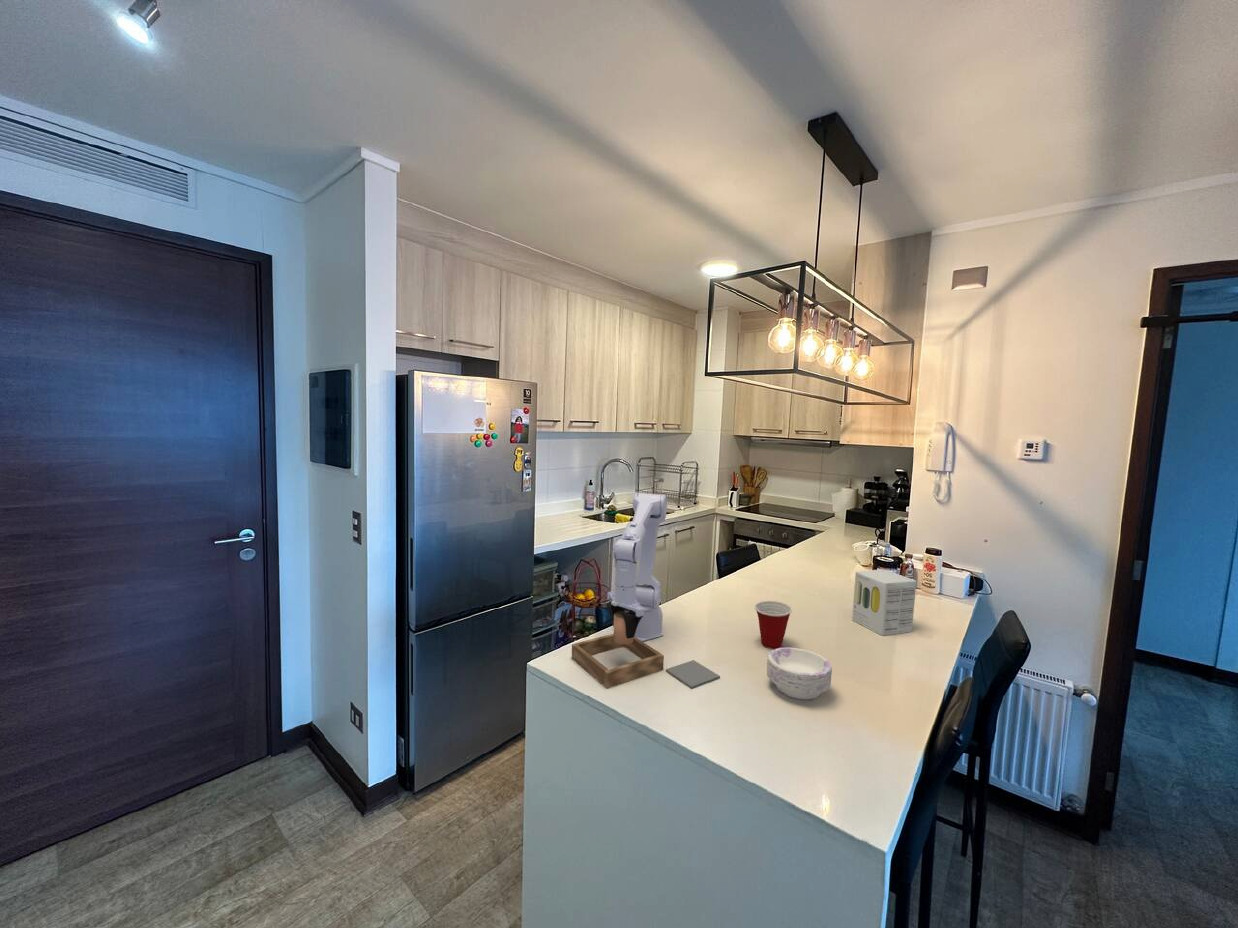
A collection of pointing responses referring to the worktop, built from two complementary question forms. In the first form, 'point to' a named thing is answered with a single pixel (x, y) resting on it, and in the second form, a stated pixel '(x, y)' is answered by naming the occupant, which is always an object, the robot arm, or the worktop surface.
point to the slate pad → (692, 674)
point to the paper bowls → (799, 672)
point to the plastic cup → (772, 622)
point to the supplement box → (884, 601)
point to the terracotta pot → (620, 629)
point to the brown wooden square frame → (621, 674)
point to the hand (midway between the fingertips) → (623, 633)
